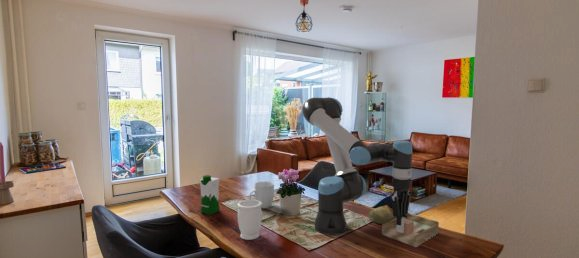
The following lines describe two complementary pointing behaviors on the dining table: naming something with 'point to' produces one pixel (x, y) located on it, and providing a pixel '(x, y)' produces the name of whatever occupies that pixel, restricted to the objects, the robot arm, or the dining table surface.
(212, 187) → the milk carton
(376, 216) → the pastry
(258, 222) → the jar
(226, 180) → the dining table surface
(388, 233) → the tray
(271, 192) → the mug
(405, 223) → the terracotta block
